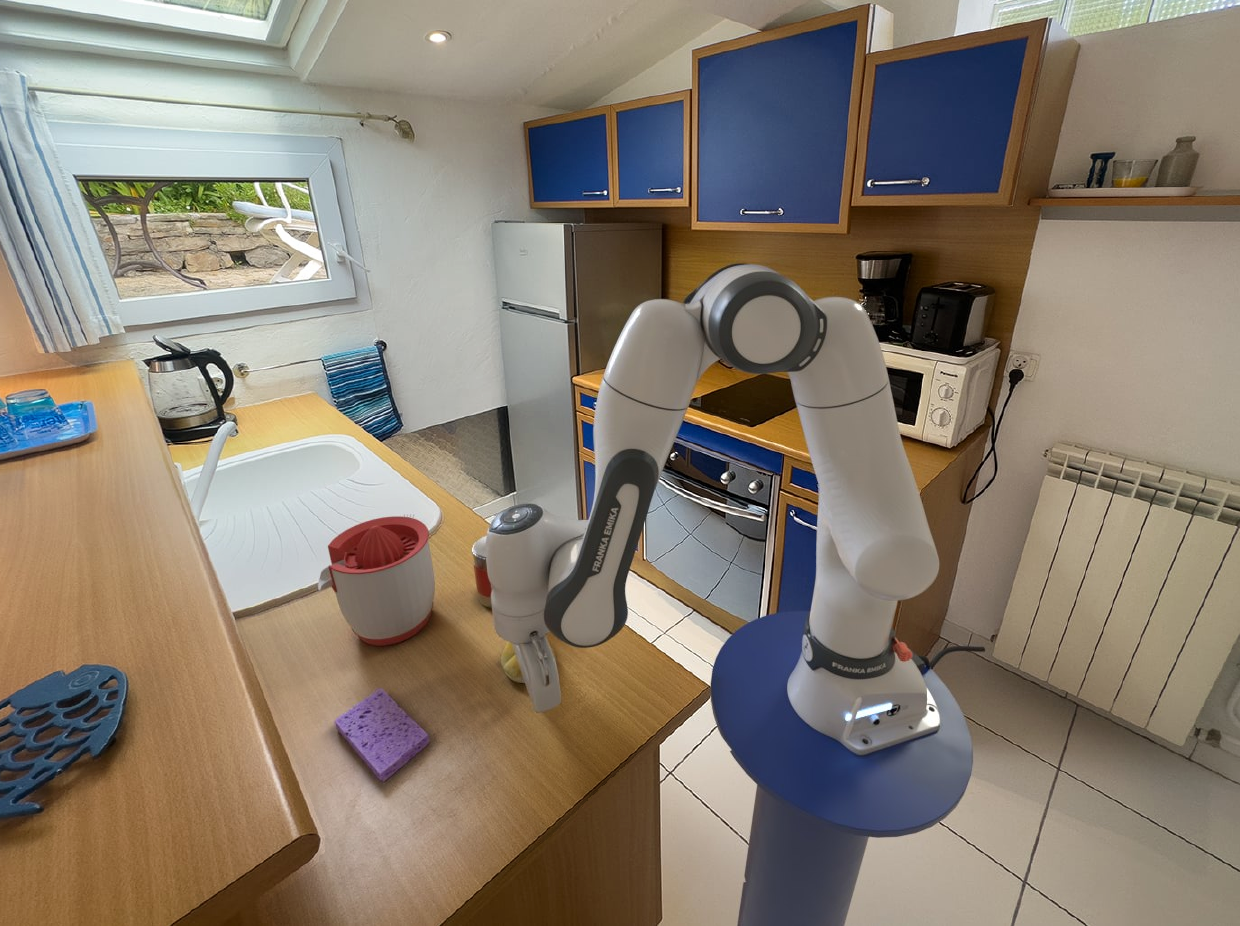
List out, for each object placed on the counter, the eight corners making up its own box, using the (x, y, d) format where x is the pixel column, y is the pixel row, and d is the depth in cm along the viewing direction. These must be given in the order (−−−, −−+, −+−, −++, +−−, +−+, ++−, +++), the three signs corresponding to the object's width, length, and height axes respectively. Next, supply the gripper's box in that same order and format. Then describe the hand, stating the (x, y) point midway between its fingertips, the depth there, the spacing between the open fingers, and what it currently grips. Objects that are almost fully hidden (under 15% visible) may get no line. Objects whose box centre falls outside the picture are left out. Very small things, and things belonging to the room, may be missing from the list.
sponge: (383, 695, 81) (381, 686, 80) (431, 743, 74) (429, 733, 73) (335, 729, 76) (332, 720, 75) (382, 784, 69) (379, 774, 68)
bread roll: (544, 634, 93) (543, 616, 91) (561, 672, 85) (560, 653, 84) (496, 651, 89) (493, 632, 88) (509, 692, 82) (507, 672, 80)
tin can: (522, 579, 106) (518, 531, 101) (518, 607, 99) (513, 556, 94) (482, 581, 105) (475, 533, 101) (474, 610, 98) (467, 559, 94)
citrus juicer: (332, 612, 97) (306, 518, 89) (434, 582, 105) (418, 492, 97) (335, 675, 84) (305, 571, 76) (450, 635, 92) (433, 537, 84)
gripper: (570, 655, 69) (574, 730, 74) (528, 564, 86) (534, 631, 91) (521, 673, 66) (529, 749, 72) (488, 575, 83) (496, 643, 89)
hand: (531, 682), depth 82 cm, fingers closed
